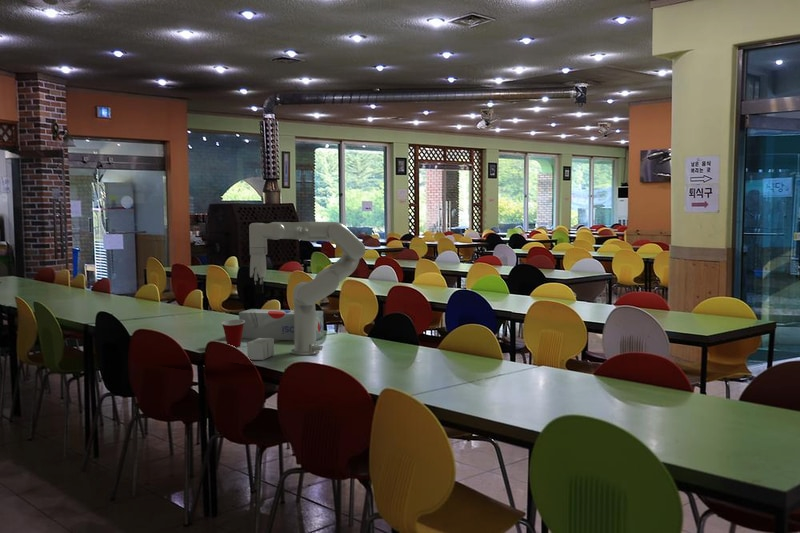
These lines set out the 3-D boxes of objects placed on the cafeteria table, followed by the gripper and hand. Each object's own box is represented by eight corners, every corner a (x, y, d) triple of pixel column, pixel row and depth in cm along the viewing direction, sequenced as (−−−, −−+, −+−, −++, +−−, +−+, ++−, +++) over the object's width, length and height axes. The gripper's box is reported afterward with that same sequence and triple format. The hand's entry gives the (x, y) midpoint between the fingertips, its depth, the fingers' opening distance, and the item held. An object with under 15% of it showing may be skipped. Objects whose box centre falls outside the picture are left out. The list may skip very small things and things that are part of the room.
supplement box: (274, 354, 332) (263, 360, 320) (259, 353, 334) (246, 359, 322) (274, 338, 332) (262, 343, 319) (258, 337, 333) (246, 342, 321)
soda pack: (324, 338, 377) (324, 310, 376) (314, 342, 364) (314, 314, 363) (250, 334, 388) (249, 307, 387) (238, 338, 376) (237, 310, 375)
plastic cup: (216, 347, 351) (216, 321, 350) (232, 343, 361) (231, 318, 360) (235, 349, 346) (234, 323, 345) (250, 345, 356) (249, 320, 355)
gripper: (255, 250, 337) (255, 291, 339) (244, 252, 323) (245, 295, 324) (271, 250, 337) (272, 291, 338) (262, 252, 322) (262, 295, 323)
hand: (259, 293), depth 331 cm, fingers closed
